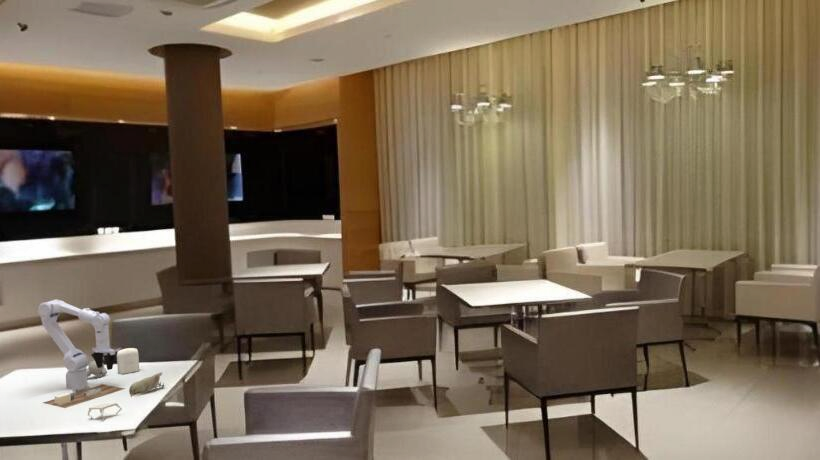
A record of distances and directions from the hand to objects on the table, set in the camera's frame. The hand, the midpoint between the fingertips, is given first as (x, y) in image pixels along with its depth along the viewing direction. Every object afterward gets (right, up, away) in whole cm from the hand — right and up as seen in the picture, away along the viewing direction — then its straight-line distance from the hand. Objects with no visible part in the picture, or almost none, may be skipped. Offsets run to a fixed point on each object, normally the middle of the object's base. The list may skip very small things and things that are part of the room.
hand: (104, 368), depth 316 cm
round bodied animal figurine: (-14, -9, +20) cm, 26 cm away
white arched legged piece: (+19, -12, -40) cm, 46 cm away
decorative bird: (+23, -9, -8) cm, 26 cm away
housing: (-3, -9, -12) cm, 15 cm away
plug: (-9, -10, -22) cm, 25 cm away
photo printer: (0, -8, +27) cm, 28 cm away
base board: (-3, -11, -13) cm, 17 cm away
